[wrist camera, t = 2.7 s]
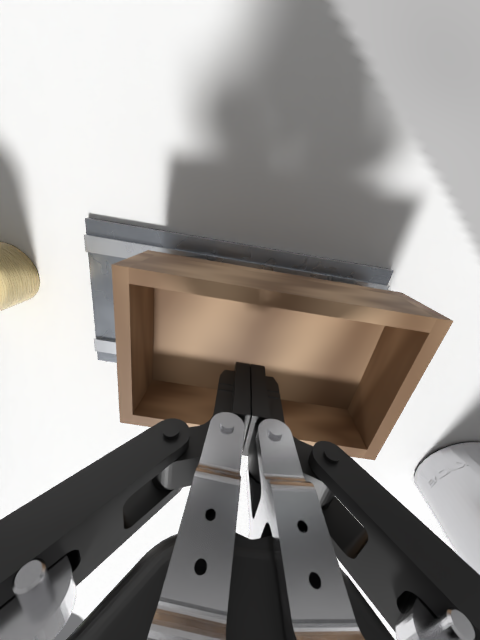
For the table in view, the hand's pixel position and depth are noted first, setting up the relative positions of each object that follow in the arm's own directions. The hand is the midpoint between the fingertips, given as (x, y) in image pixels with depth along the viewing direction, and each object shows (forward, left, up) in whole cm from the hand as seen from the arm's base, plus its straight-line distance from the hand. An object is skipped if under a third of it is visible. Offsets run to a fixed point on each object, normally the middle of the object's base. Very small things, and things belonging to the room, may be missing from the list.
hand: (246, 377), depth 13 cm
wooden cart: (-1, 0, -8) cm, 8 cm away
